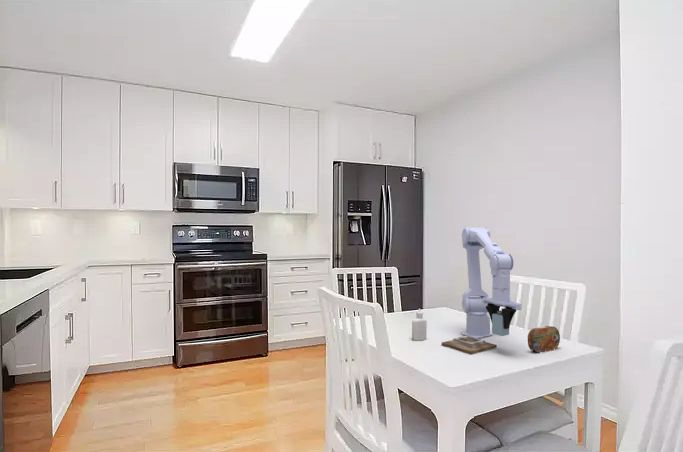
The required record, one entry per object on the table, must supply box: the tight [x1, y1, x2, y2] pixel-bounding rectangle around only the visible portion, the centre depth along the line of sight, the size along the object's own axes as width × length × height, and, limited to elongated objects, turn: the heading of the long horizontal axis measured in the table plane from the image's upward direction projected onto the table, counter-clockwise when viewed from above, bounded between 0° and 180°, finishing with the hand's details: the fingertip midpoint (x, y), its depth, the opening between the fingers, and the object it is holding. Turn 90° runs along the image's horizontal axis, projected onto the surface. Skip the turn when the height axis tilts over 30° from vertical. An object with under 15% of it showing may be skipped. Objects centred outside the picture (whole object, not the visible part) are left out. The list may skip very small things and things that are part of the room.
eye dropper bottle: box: [411, 308, 428, 342], centre depth 156 cm, size 4×6×12 cm
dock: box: [441, 335, 498, 355], centre depth 148 cm, size 15×13×2 cm
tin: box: [527, 325, 561, 354], centre depth 145 cm, size 15×3×8 cm, turn 117°
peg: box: [491, 310, 510, 337], centre depth 141 cm, size 4×4×8 cm
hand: (500, 327), depth 141 cm, fingers closed on peg, 4 cm apart
